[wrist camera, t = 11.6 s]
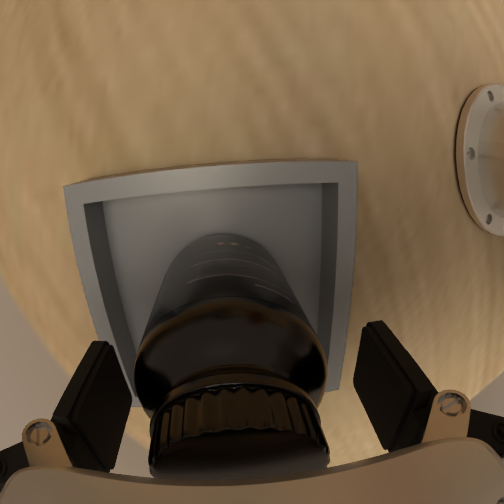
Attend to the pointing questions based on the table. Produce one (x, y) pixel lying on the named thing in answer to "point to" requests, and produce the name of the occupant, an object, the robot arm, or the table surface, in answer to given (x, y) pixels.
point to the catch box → (216, 223)
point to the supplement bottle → (230, 368)
